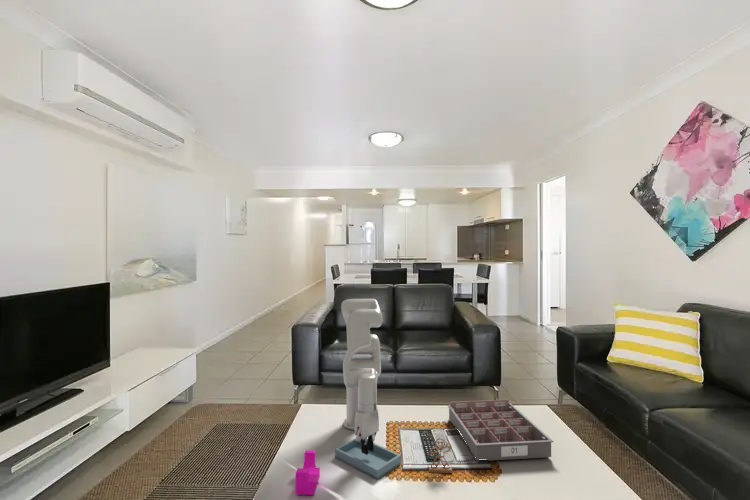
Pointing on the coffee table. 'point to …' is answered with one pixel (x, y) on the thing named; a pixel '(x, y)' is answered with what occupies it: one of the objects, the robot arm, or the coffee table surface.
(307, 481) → the toy block
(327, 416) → the coffee table surface
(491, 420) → the organizer tray
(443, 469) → the wooden figure on stand
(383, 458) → the slate tray
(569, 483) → the coffee table surface
